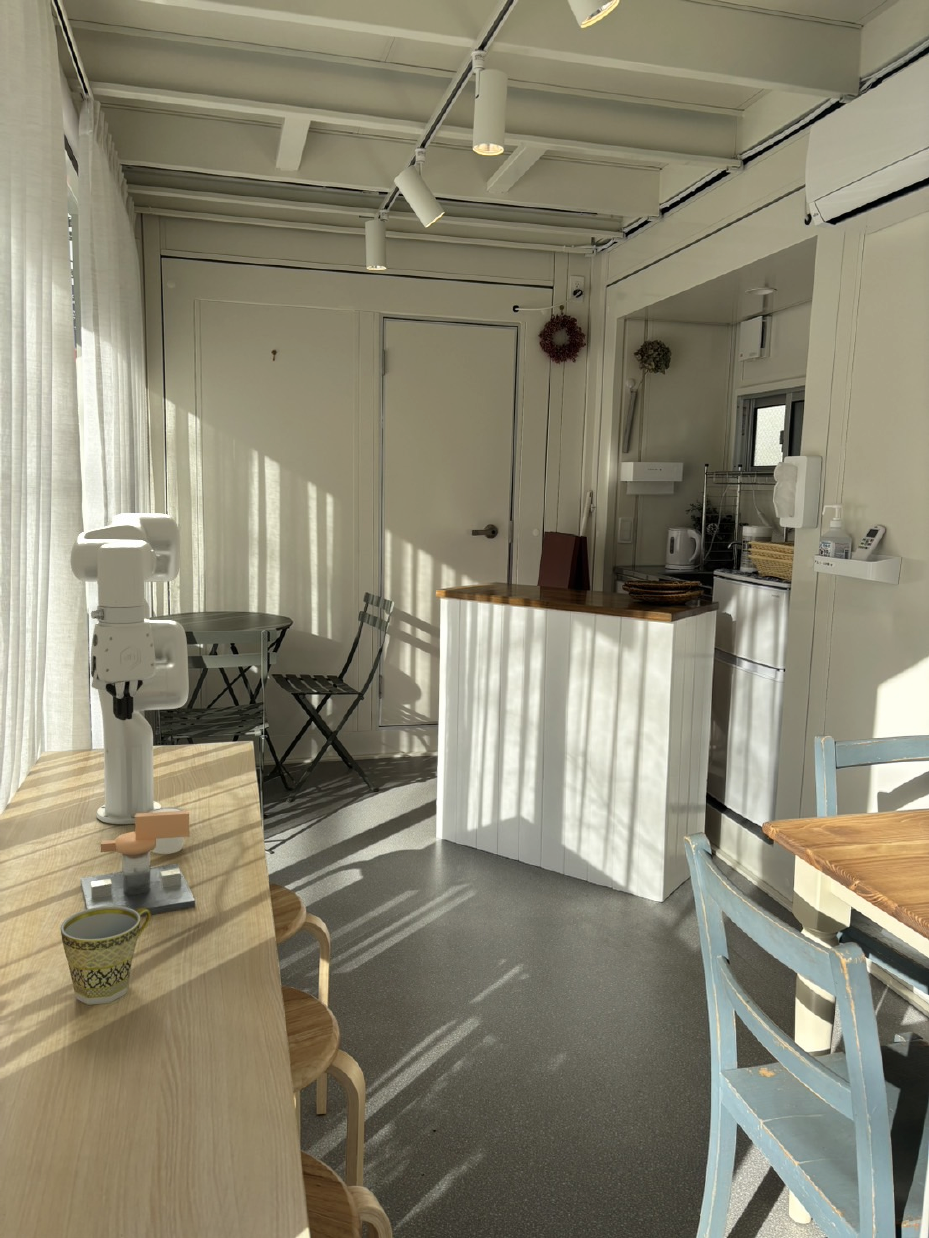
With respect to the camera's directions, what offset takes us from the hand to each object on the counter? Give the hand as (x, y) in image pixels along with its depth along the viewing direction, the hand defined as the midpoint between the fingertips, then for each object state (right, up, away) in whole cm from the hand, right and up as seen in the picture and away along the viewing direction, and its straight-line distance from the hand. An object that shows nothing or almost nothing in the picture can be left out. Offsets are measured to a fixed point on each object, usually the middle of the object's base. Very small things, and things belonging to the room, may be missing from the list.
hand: (123, 718), depth 163 cm
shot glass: (+4, -26, +12) cm, 29 cm away
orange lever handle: (+7, -21, -9) cm, 24 cm away
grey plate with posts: (+5, -29, -9) cm, 30 cm away
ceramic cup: (+12, -33, -36) cm, 51 cm away
